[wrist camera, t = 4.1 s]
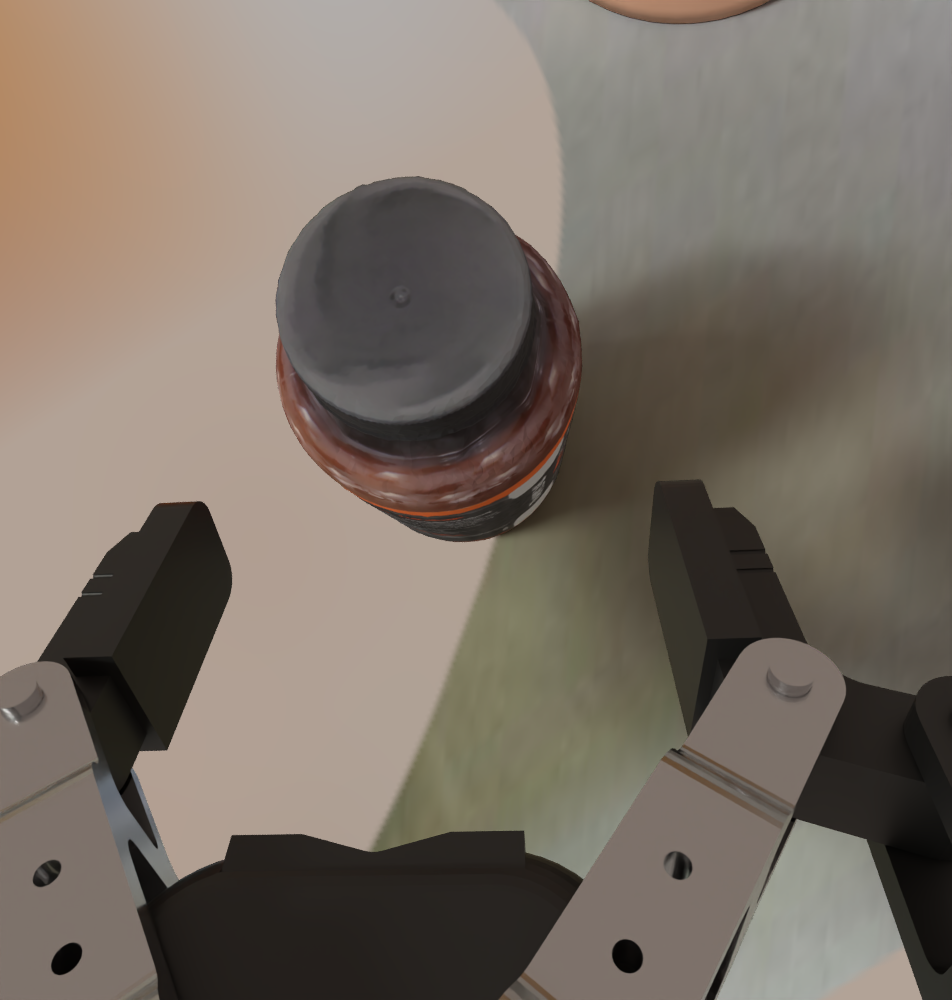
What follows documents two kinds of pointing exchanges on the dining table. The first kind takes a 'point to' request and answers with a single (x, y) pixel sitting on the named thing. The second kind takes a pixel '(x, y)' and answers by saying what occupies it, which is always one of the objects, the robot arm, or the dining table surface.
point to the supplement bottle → (427, 357)
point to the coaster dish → (679, 9)
